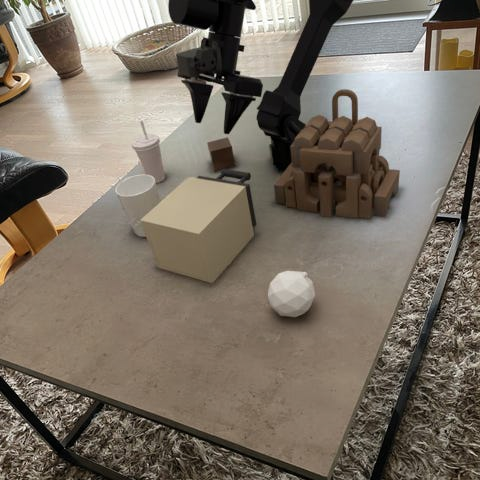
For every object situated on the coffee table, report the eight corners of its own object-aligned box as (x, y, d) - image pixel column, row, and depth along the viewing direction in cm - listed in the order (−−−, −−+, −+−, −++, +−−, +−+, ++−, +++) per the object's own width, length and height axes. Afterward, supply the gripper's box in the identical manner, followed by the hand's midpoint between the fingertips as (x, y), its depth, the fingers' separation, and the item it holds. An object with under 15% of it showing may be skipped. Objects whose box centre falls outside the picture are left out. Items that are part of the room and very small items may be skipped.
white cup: (139, 244, 97) (122, 201, 90) (127, 226, 102) (110, 184, 95) (174, 228, 99) (160, 185, 92) (161, 212, 104) (147, 169, 97)
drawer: (221, 202, 101) (212, 163, 95) (268, 211, 96) (262, 170, 90) (169, 254, 91) (155, 214, 85) (218, 267, 86) (208, 226, 80)
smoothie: (165, 185, 112) (147, 126, 102) (140, 186, 114) (120, 129, 104) (173, 171, 116) (157, 113, 106) (149, 172, 118) (130, 115, 108)
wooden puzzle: (271, 209, 98) (258, 118, 85) (299, 172, 106) (291, 84, 93) (381, 224, 88) (385, 124, 75) (402, 182, 97) (409, 85, 84)
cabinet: (201, 223, 98) (188, 176, 91) (254, 235, 93) (245, 186, 85) (157, 267, 91) (139, 220, 83) (212, 283, 85) (198, 233, 77)
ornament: (274, 291, 80) (300, 254, 76) (306, 321, 78) (334, 284, 74) (250, 299, 75) (276, 259, 71) (283, 332, 73) (312, 293, 68)
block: (231, 157, 116) (227, 137, 113) (235, 166, 113) (231, 145, 109) (211, 162, 116) (207, 142, 113) (214, 171, 113) (210, 151, 109)
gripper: (157, 21, 86) (149, 115, 94) (220, 32, 74) (206, 138, 82) (207, 32, 93) (197, 118, 100) (272, 44, 81) (255, 140, 89)
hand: (211, 128), depth 93 cm, fingers open, 9 cm apart
